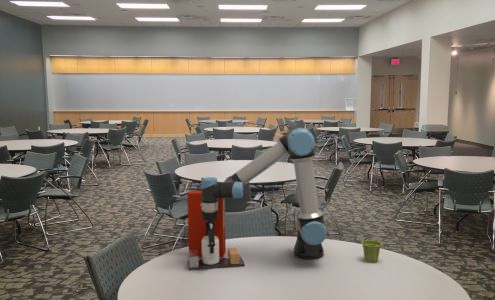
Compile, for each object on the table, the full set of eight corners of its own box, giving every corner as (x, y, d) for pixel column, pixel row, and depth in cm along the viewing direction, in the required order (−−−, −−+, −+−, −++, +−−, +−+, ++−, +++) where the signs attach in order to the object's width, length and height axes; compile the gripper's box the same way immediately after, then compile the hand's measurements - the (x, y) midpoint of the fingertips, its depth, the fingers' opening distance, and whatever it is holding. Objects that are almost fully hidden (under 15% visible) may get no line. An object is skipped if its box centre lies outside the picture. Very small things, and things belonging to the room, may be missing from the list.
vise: (241, 259, 228) (241, 246, 227) (244, 266, 218) (244, 253, 217) (187, 262, 224) (187, 250, 223) (188, 270, 214) (188, 257, 213)
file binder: (192, 251, 240) (191, 190, 236) (225, 252, 238) (224, 190, 235) (188, 256, 232) (187, 193, 228) (223, 257, 230) (222, 193, 227)
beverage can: (206, 266, 215) (205, 241, 213) (199, 261, 222) (199, 236, 221) (222, 263, 219) (221, 238, 217) (215, 258, 226) (214, 234, 224)
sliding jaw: (236, 256, 227) (236, 247, 227) (239, 263, 217) (239, 254, 217) (228, 257, 227) (228, 247, 226) (230, 264, 217) (230, 254, 216)
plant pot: (380, 264, 219) (381, 246, 218) (360, 262, 221) (360, 245, 220) (381, 258, 227) (382, 241, 226) (362, 256, 230) (362, 239, 229)
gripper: (199, 204, 229) (200, 246, 231) (203, 217, 205) (204, 264, 207) (214, 204, 230) (215, 245, 233) (220, 217, 206) (221, 263, 208)
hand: (210, 254), depth 220 cm, fingers open, 13 cm apart
